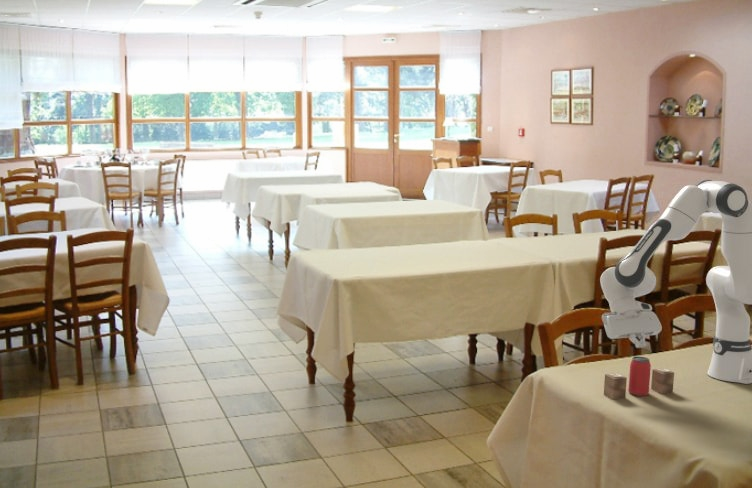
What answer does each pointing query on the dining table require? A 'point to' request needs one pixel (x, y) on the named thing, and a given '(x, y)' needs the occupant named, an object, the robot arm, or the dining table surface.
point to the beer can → (639, 376)
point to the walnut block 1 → (615, 386)
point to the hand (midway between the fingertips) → (641, 346)
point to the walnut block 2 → (662, 380)
